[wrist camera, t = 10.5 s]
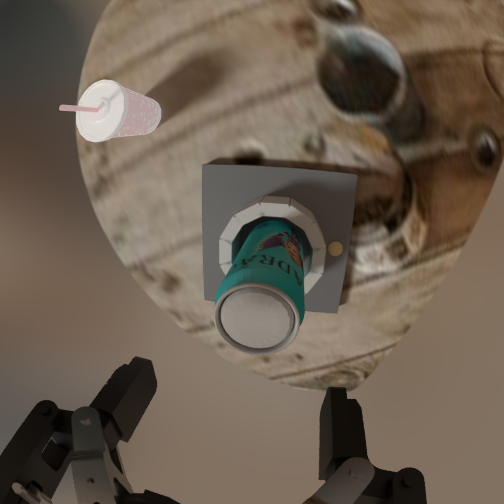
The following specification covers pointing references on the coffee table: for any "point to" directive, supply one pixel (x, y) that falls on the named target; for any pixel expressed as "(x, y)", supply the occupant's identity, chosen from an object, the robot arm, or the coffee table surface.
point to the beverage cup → (114, 112)
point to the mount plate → (280, 209)
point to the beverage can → (263, 291)
